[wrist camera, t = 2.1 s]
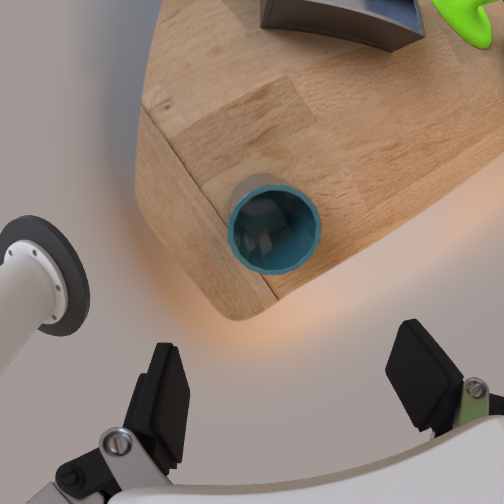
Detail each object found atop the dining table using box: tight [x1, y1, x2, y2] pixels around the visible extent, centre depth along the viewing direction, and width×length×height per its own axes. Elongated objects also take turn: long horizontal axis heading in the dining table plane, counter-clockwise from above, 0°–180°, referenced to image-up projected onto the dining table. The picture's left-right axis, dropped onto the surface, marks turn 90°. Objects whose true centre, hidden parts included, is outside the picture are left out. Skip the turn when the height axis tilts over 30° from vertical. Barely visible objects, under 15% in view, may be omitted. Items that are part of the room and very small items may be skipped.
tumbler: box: [228, 174, 321, 275], centre depth 23 cm, size 7×7×9 cm
